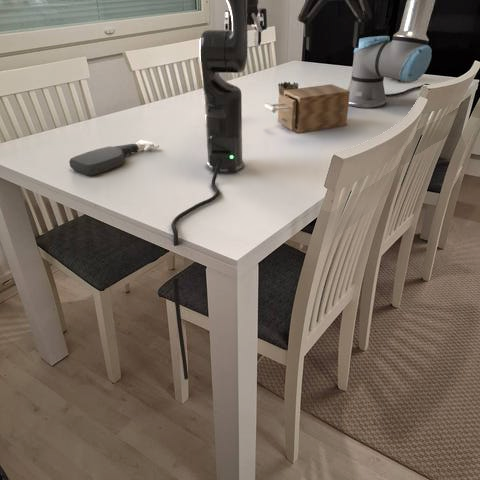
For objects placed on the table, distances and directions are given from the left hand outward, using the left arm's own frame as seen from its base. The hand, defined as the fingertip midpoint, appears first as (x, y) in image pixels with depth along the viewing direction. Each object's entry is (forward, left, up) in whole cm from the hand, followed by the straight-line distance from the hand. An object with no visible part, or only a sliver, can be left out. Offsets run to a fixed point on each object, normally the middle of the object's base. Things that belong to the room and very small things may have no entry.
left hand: (246, 46), depth 140 cm
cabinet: (-3, -23, -24) cm, 33 cm away
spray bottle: (-35, +35, -24) cm, 55 cm away
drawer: (-6, -17, -23) cm, 29 cm away
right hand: (-14, -25, +1) cm, 29 cm away
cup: (+19, -15, -24) cm, 34 cm away
